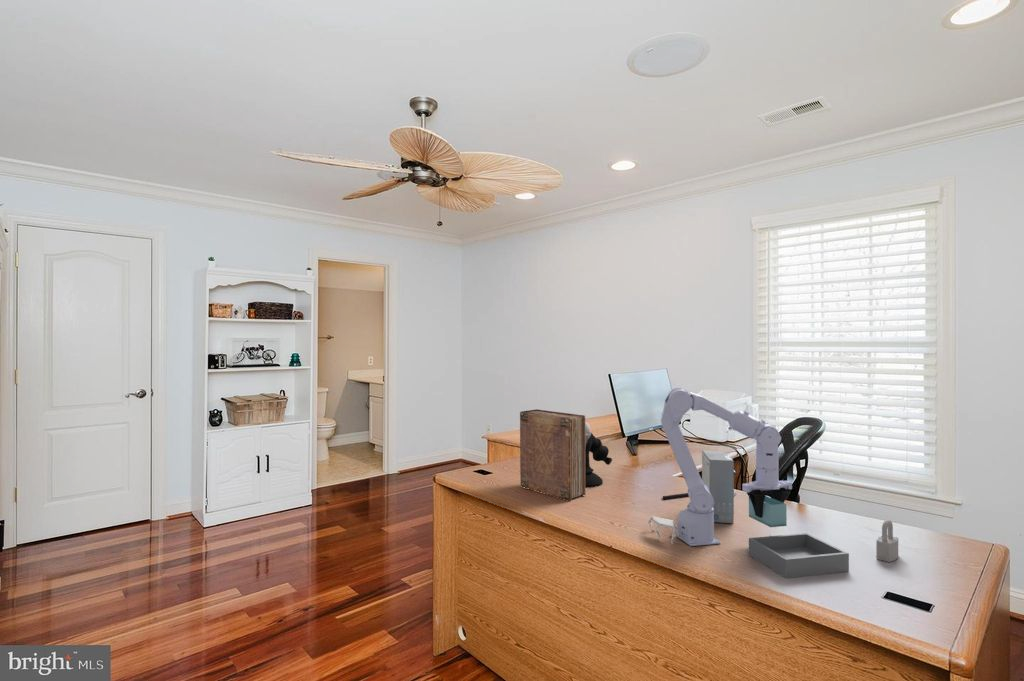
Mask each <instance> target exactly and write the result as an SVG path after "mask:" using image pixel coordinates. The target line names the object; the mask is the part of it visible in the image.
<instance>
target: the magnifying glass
mask: <svg viewBox="0 0 1024 681" xmlns="http://www.w3.org/2000/svg"><path fill="white" fill-rule="evenodd" d="M736 496H737V490H736V489H735V488H734V497H736ZM683 498H689V496H688V492H686V493H679V494H678V493H676V494H669V495H668V494H667V495H663V496H662V499H663V500H664V501H667V500H668V501H669V500H675V499H683Z"/></svg>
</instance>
